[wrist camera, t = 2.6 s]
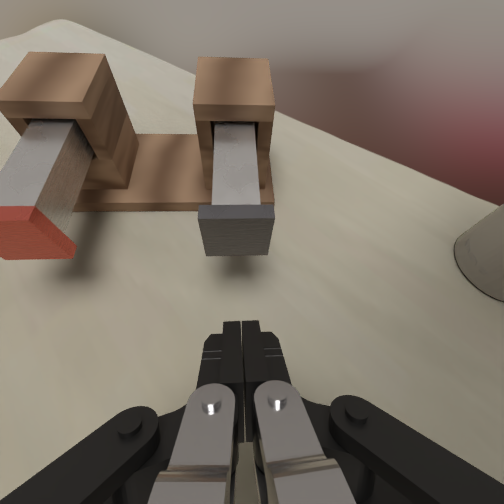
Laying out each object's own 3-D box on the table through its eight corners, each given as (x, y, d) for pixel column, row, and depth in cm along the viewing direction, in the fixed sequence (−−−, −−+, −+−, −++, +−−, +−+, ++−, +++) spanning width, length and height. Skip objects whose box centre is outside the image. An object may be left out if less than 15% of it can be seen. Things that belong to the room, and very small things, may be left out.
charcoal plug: (257, 138, 30) (260, 92, 25) (267, 255, 22) (274, 218, 18) (211, 138, 29) (206, 90, 25) (206, 256, 22) (197, 218, 17)
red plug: (113, 137, 29) (89, 88, 24) (72, 258, 21) (28, 220, 17) (64, 137, 28) (31, 87, 24) (5, 259, 21) (-59, 221, 16)
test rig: (265, 144, 37) (276, 49, 27) (272, 210, 32) (289, 119, 21) (86, 142, 36) (26, 41, 26) (58, 211, 30) (-35, 115, 20)
